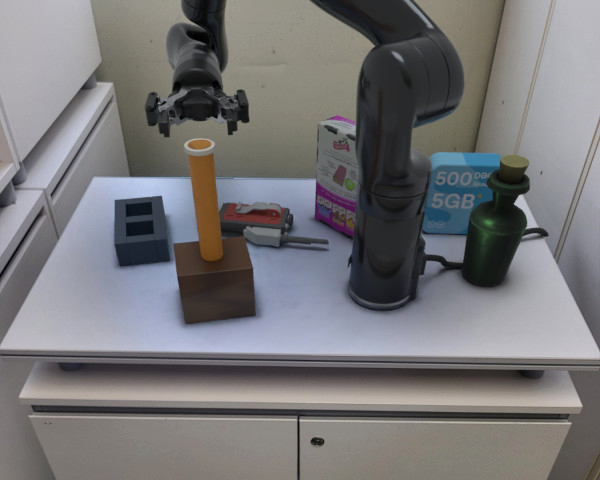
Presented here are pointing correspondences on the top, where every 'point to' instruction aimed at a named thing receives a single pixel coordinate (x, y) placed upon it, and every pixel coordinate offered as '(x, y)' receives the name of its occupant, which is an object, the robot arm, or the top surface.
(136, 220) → the rack
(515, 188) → the potion bottle
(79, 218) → the top surface
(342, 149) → the candy bar box
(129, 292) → the top surface
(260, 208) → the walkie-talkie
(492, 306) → the top surface
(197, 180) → the test tube
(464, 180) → the data package
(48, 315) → the top surface
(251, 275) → the stand
